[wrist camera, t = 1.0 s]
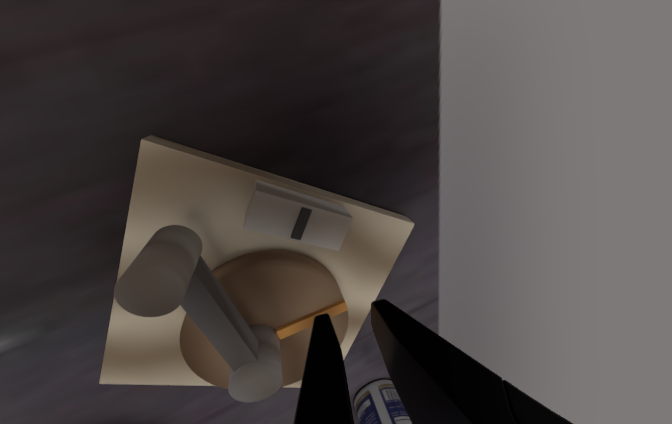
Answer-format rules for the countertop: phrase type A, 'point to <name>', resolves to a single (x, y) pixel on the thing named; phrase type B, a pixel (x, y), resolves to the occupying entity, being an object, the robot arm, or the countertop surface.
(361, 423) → the pill bottle
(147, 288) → the crank handle
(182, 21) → the countertop surface
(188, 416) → the countertop surface
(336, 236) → the stand
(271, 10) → the countertop surface
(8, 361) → the countertop surface
